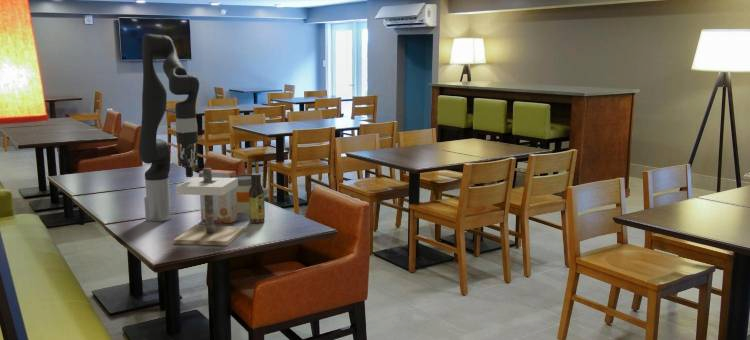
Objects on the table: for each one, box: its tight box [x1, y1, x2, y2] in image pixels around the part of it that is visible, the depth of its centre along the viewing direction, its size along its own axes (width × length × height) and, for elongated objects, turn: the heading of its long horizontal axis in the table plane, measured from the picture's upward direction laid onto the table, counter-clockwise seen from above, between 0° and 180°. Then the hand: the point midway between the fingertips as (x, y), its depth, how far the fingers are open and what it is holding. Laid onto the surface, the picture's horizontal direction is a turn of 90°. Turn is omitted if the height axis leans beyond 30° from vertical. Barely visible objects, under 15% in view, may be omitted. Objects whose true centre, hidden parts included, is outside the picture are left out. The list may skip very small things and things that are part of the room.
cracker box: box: [198, 169, 239, 224], centre depth 257 cm, size 14×6×21 cm, turn 71°
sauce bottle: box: [248, 172, 266, 224], centre depth 255 cm, size 7×6×20 cm
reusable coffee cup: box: [236, 173, 252, 214], centre depth 274 cm, size 13×13×15 cm
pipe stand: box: [173, 167, 246, 246], centre depth 233 cm, size 20×20×26 cm
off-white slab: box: [175, 176, 238, 196], centre depth 232 cm, size 17×17×3 cm
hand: (189, 176), depth 232 cm, fingers closed
